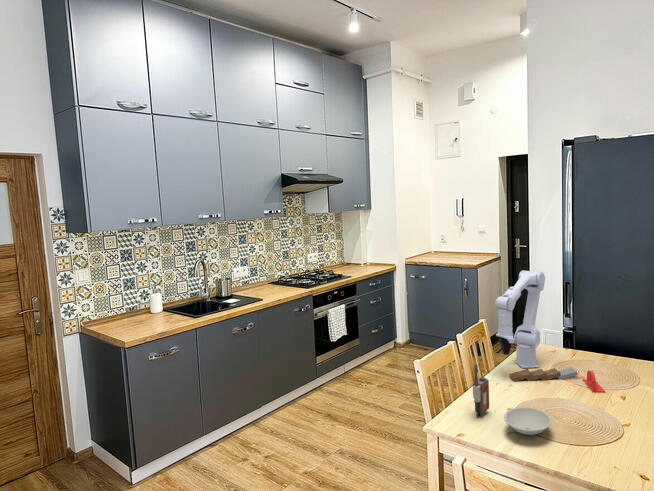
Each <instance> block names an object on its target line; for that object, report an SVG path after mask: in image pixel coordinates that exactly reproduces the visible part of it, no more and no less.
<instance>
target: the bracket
mask: <svg viewBox="0 0 654 491" xmlns="http://www.w3.org/2000/svg"><path fill="white" fill-rule="evenodd" d="M582 381H583V383H584V382H585V383H586V384H585V383H584V384H585V385H586V387H587V388H588V389H589V390H590V391H591V392H592V393H595V394H597V393H600V394H605V393H606V390H605V389H604V388H603V387H602V386H601V385H600V383H599V382H598V381H597V380H596V376H595V372H594V371H593V370H587V372H586V378H582Z"/></svg>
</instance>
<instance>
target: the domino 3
mask: <svg viewBox="0 0 654 491" xmlns="http://www.w3.org/2000/svg"><path fill="white" fill-rule="evenodd" d="M577 373H578V375H576V376H573V377H569V378H566V379H565V380H572V379H571V378H582V379H586V377H585V376H584V375H583V374H581V373H580V372H577Z"/></svg>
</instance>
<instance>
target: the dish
mask: <svg viewBox="0 0 654 491" xmlns="http://www.w3.org/2000/svg"><path fill="white" fill-rule="evenodd" d="M503 418H504V421H505V422H506V424H507V425H509V427H510V428H512V429H513V430H515V431H516V432H517V433H520V434H523V435H525V436H526V435H530V436H532V435H538V434H540V433H542V432H544V431H545V430H547V429H548V428H549V427H550V426H551V425H552V422H553V419H552V417H551V416H550V414H549V413H547V412H546V411H545V410H543V409H540V408H536V407H531V406H519V407H514V408H511V409H508V410H507V411H505V413H504V416H503Z"/></svg>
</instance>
